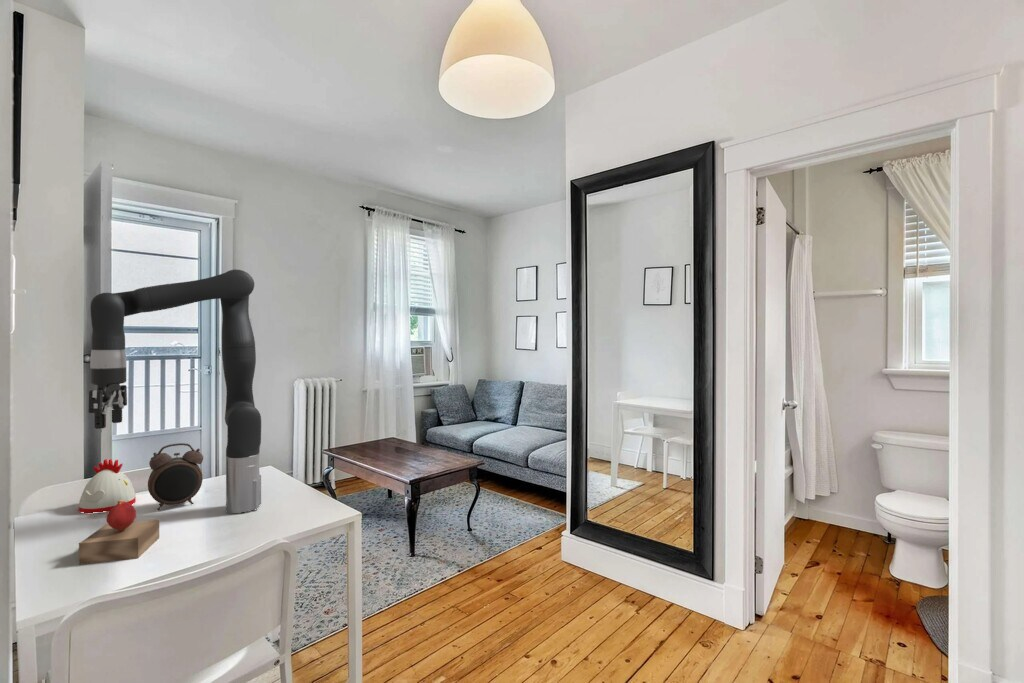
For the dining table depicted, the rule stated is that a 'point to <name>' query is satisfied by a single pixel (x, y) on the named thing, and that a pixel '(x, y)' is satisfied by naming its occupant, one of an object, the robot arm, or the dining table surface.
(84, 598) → the dining table surface
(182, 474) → the alarm clock
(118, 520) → the onion
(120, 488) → the kitchen timer
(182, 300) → the robot arm
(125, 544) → the walnut base
